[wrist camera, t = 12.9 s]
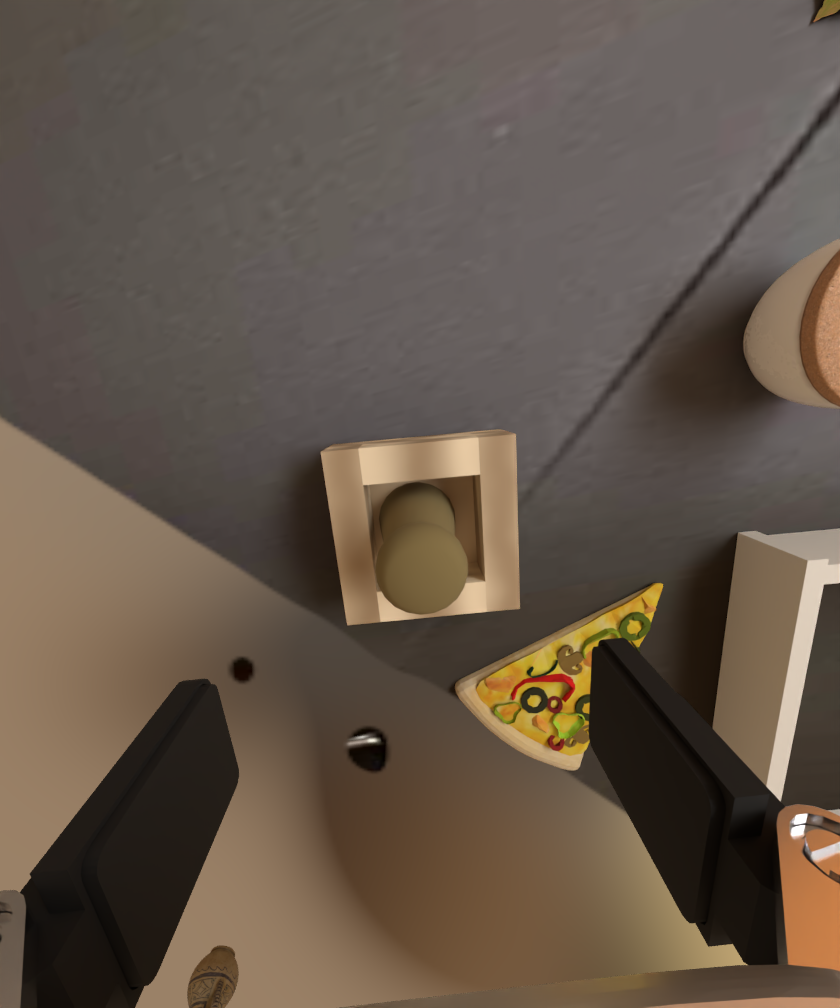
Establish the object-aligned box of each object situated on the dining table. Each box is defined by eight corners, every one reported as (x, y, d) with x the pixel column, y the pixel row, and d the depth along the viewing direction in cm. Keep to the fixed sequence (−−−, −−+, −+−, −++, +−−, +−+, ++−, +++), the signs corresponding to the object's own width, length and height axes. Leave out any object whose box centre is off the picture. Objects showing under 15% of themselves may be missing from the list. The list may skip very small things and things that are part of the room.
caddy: (354, 596, 34) (347, 625, 29) (332, 444, 30) (320, 452, 26) (505, 581, 34) (519, 608, 29) (500, 429, 30) (515, 434, 26)
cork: (379, 480, 30) (364, 524, 19) (457, 483, 30) (485, 528, 20) (378, 554, 32) (364, 632, 21) (452, 555, 32) (475, 634, 21)
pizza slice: (442, 691, 37) (445, 715, 34) (594, 528, 34) (612, 540, 31) (558, 767, 40) (570, 796, 37) (711, 625, 36) (737, 644, 34)
